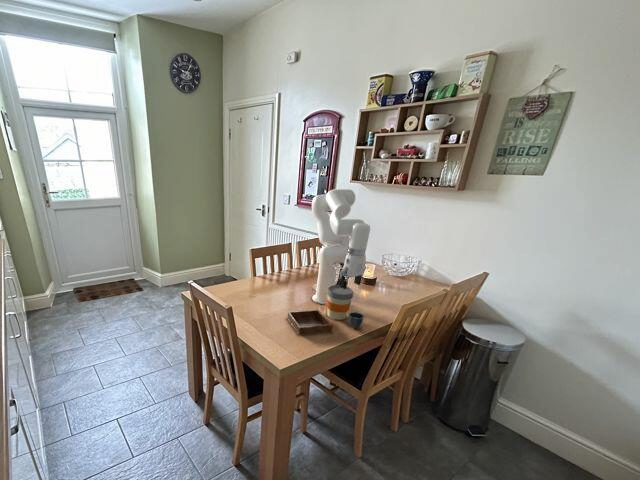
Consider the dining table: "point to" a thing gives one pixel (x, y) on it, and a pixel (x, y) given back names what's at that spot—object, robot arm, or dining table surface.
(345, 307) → the reusable coffee cup
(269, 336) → the dining table surface
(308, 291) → the dining table surface
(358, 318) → the dark blue cup
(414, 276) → the dining table surface
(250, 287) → the dining table surface
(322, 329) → the dark wooden tray
